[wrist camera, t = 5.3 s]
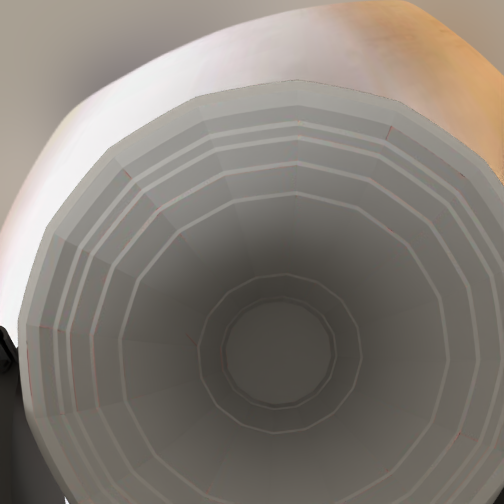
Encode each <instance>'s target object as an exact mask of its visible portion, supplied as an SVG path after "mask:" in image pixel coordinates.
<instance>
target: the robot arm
mask: <svg viewBox="0 0 504 504" xmlns="http://www.w3.org/2000/svg"><path fill="white" fill-rule="evenodd" d="M0 504H66V503H65V496H64V494H63V492H62V491H61V489H60V487H59V486H58V484H57V482H56V480H55V479H54V477H53V475H52V473H51V471H50V469H49V467H48V466H47V464H46V462H45V460H44V458H43V456H42V454H41V452H40V449H39V447H38V445H37V443H36V441H35V439H34V436H33V434H32V432H31V429H30V427H29V425H28V422H27V420H26V415H25V409H24V402H23V395H22V387H21V378H20V367H19V352H18V347H17V348H16V347H15V346H14V344H13V342H12V340H11V338H10V336H9V334H8V332H7V331H6V329H5V328H4V327H2V326H0ZM493 504H504V488H503V489H502V491H501V492H500V494H499V495H498V497H497V499H496V500H495V501H494V503H493Z"/></svg>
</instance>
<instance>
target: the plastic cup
mask: <svg viewBox="0 0 504 504" xmlns="http://www.w3.org/2000/svg"><path fill="white" fill-rule="evenodd" d="M18 352H19V367H20V378H21V387H22V395H23V402H24V409H25V415H26V420H27V422H28V425H29V427H30V429H31V432H32V434H33V436H34V439H35V441H36V443H37V445H38V447H39V449H40V452H41V454H42V456H43V458H44V460H45V462H46V464H47V466H48V467H49V469H50V471H51V473H52V475H53V477H54V479H55V480H56V482H57V484H58V486H59V487H60V489H61V491H62V492H63V494H64V496H65V497H66V499H67V501H68V502H69V504H493V503H494V501H495V500H496V499H497V497H498V495H499V494H500V492H501V491H502V489H503V488H504V186H503V185H502V183H501V182H500V180H499V179H498V178H497V176H496V175H495V173H494V172H493V171H492V169H491V168H490V167H489V165H488V164H487V163H486V161H485V160H484V159H482V158H481V157H480V156H479V155H477V154H476V153H475V152H474V151H472V150H471V149H470V148H468V147H467V146H466V145H464V144H463V143H462V142H460V141H459V140H458V139H456V138H455V137H453V136H452V135H451V134H449V133H448V132H446V131H445V130H444V129H442V128H441V127H439V126H438V125H436V124H435V123H433V122H432V121H430V120H429V119H427V118H425V117H424V116H422V115H421V114H419V113H417V112H416V111H414V110H413V109H411V108H409V107H408V106H406V105H404V104H402V103H401V102H399V101H396V100H392V99H388V98H385V97H381V96H377V95H373V94H369V93H365V92H360V91H356V90H351V89H347V88H342V87H337V86H332V85H326V84H321V83H315V82H308V81H302V80H291V81H283V82H275V83H267V84H261V85H254V86H248V87H242V88H236V89H231V90H226V91H221V92H216V93H211V94H207V95H202V96H198V97H195V98H193V99H191V100H189V101H187V102H185V103H183V104H181V105H179V106H178V107H176V108H174V109H172V110H170V111H168V112H167V113H165V114H163V115H161V116H160V117H158V118H156V119H155V120H153V121H151V122H149V123H148V124H146V125H144V126H143V127H141V128H140V129H138V130H136V131H135V132H133V133H131V134H130V135H128V136H127V137H125V138H124V139H122V140H121V141H119V142H118V143H116V144H115V145H113V146H112V147H110V148H109V149H108V150H107V151H106V152H105V153H104V154H103V155H102V156H101V157H100V159H99V160H98V161H97V162H96V163H95V164H94V165H93V167H92V168H91V169H90V170H89V171H88V173H87V174H86V175H85V176H84V177H83V179H82V180H81V181H80V182H79V184H78V185H77V186H76V187H75V189H74V190H73V191H72V193H71V194H70V195H69V196H68V198H67V199H66V200H65V202H64V203H63V204H62V206H61V207H60V208H59V210H58V211H57V213H56V214H55V215H54V217H53V218H52V220H51V221H50V222H49V224H48V225H47V227H46V229H45V232H44V234H43V237H42V240H41V243H40V245H39V248H38V251H37V254H36V257H35V260H34V263H33V266H32V269H31V273H30V276H29V279H28V283H27V286H26V290H25V293H24V297H23V301H22V305H21V309H20V313H19V317H18Z"/></svg>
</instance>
